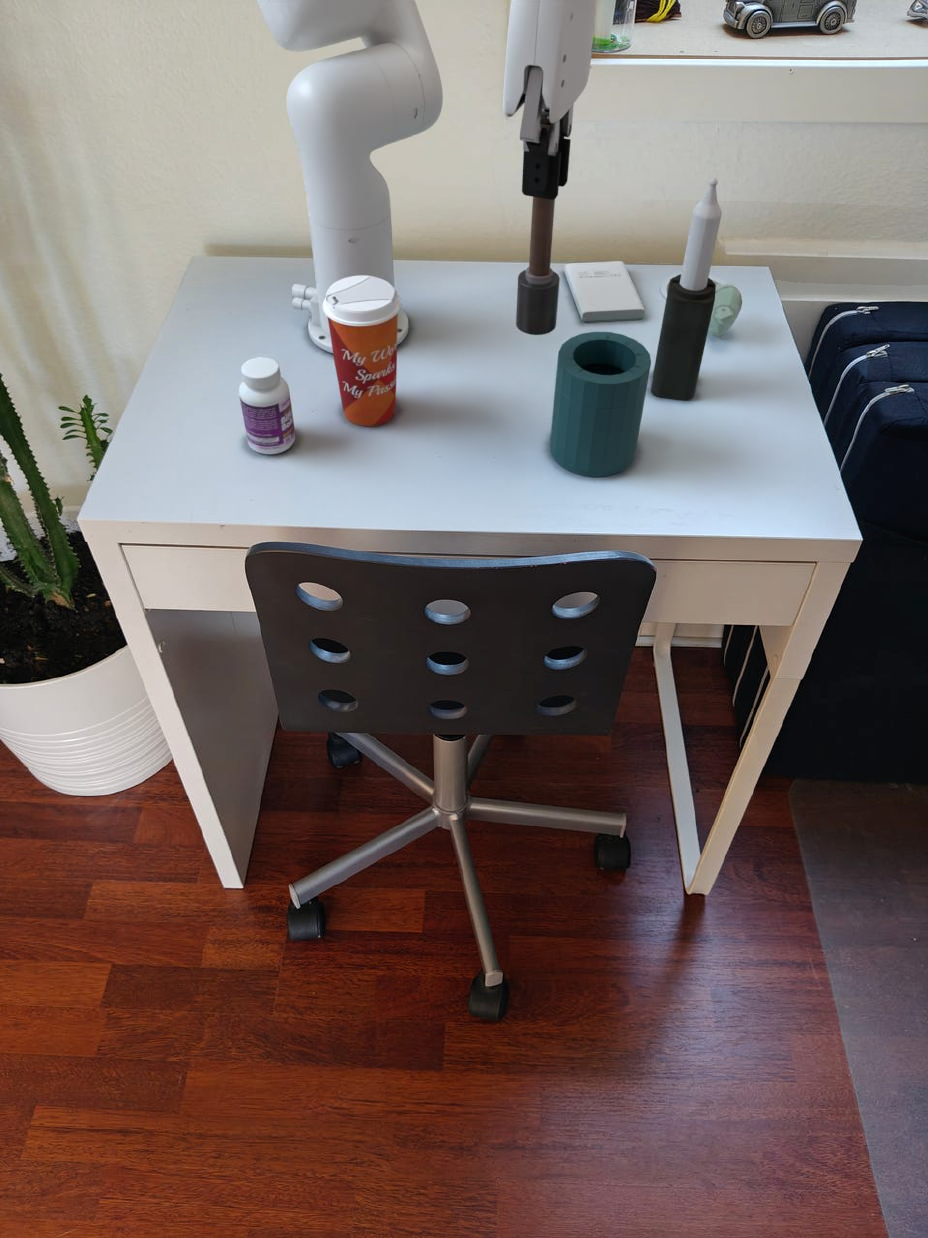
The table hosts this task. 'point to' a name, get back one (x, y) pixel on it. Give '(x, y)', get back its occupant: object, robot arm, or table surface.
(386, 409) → the coffee cup
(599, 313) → the hard drive
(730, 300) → the green toy fish
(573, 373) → the teal hollow cylinder
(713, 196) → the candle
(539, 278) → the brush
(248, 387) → the pill bottle
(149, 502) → the table surface
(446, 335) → the table surface
